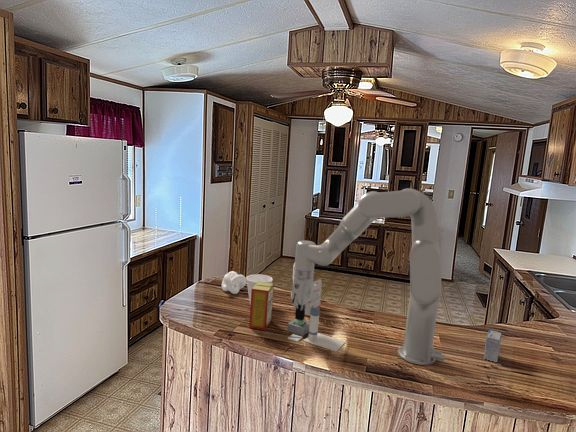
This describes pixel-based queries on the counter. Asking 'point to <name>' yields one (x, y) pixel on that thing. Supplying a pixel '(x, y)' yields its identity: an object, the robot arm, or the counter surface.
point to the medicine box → (492, 346)
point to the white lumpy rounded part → (233, 282)
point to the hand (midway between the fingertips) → (299, 318)
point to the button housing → (298, 327)
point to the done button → (299, 322)
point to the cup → (254, 279)
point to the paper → (327, 342)
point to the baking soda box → (261, 305)
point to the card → (295, 337)
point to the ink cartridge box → (314, 297)
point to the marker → (313, 324)
